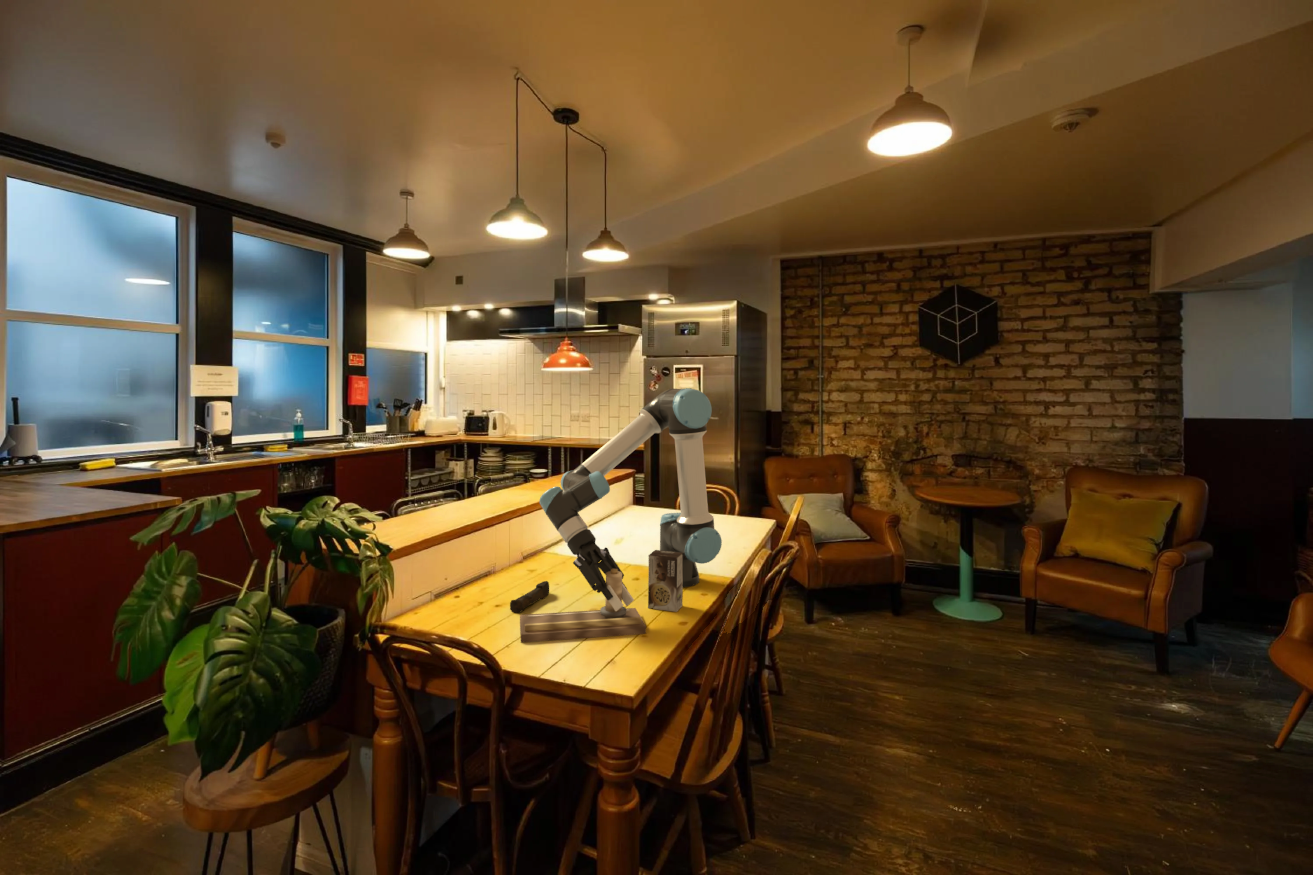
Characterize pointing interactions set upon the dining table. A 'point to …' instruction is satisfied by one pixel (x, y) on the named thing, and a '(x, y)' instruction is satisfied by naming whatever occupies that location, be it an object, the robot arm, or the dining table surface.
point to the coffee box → (665, 580)
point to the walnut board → (578, 625)
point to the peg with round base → (616, 583)
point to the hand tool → (530, 597)
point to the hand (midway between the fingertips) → (625, 605)
